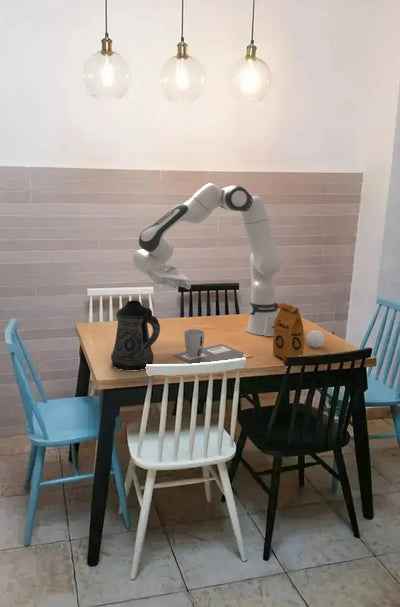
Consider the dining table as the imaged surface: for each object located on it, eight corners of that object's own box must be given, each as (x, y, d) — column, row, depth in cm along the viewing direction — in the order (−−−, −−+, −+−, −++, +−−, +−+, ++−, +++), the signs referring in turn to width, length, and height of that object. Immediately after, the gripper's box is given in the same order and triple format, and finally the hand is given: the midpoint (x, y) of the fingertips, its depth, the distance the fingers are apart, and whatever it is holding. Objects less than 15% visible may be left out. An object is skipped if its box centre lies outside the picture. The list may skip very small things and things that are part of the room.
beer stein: (115, 356, 219) (114, 296, 213) (163, 357, 218) (163, 297, 213) (107, 371, 203) (105, 306, 197) (158, 372, 202) (159, 307, 196)
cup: (201, 359, 216) (202, 335, 214) (182, 358, 218) (182, 334, 216) (205, 353, 224) (206, 330, 222) (186, 351, 226) (186, 328, 223)
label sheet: (221, 344, 237) (221, 343, 237) (252, 356, 222) (252, 356, 222) (172, 355, 222) (172, 354, 222) (202, 369, 207) (202, 368, 206)
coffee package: (285, 364, 214) (288, 310, 209) (269, 354, 225) (271, 303, 220) (306, 361, 218) (310, 308, 213) (289, 351, 229) (292, 301, 224)
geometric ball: (319, 353, 236) (331, 341, 233) (307, 349, 232) (319, 337, 228) (312, 340, 242) (323, 328, 238) (299, 336, 237) (311, 324, 233)
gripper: (147, 263, 225) (169, 278, 217) (178, 268, 241) (199, 282, 234) (141, 277, 226) (163, 292, 219) (172, 280, 243) (193, 295, 235)
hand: (182, 287), depth 227 cm, fingers open, 8 cm apart
